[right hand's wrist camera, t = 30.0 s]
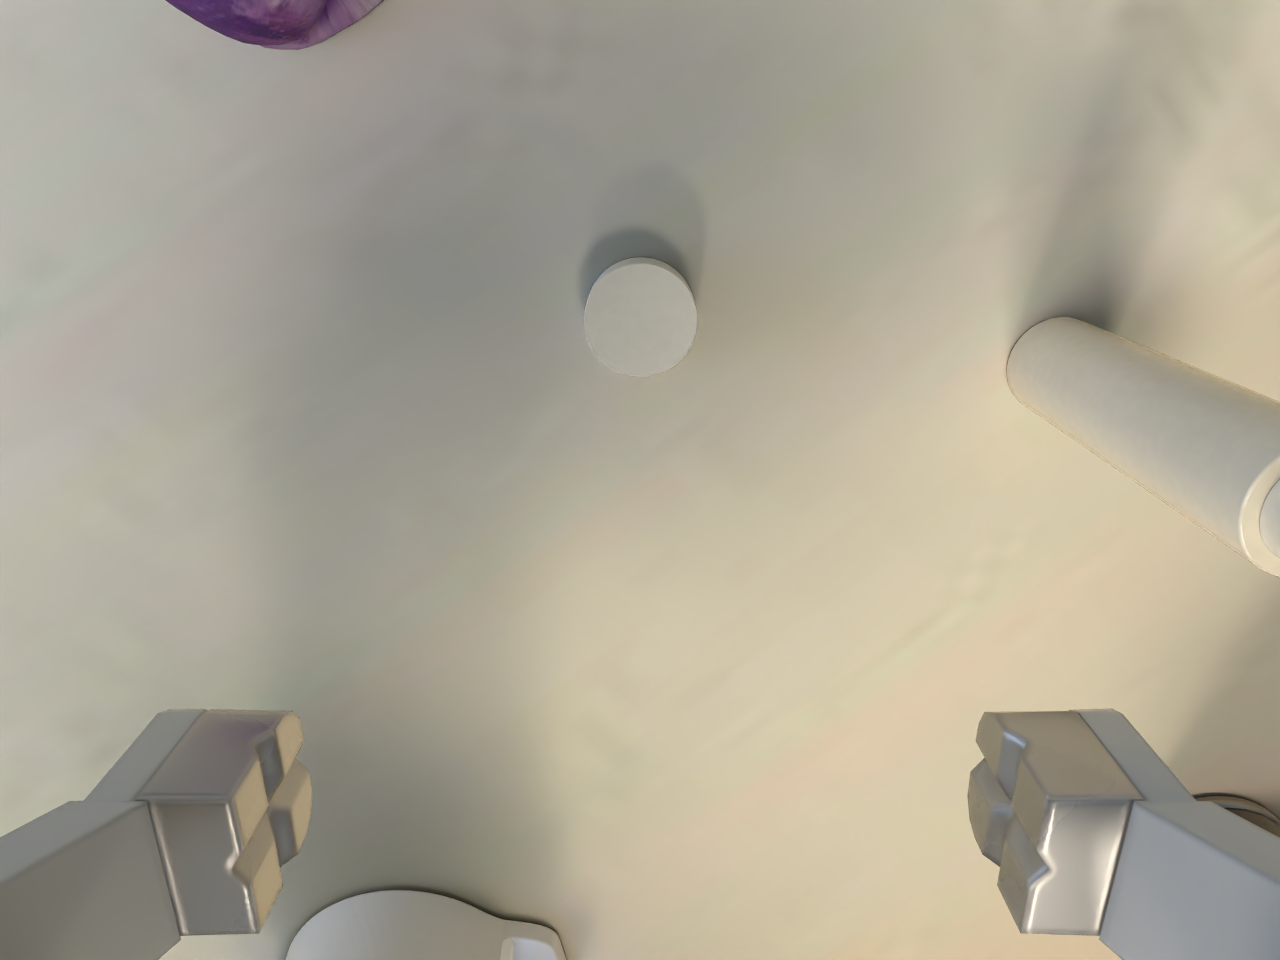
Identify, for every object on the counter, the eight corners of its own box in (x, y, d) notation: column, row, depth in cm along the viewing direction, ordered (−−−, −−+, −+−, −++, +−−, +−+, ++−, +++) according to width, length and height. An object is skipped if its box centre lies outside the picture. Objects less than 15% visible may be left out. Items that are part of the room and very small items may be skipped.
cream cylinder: (1013, 316, 38) (1309, 456, 21) (1112, 316, 38) (1484, 456, 21) (999, 411, 39) (1263, 611, 23) (1094, 411, 39) (1427, 612, 23)
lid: (707, 349, 38) (710, 359, 36) (604, 378, 39) (602, 390, 37) (678, 243, 37) (680, 248, 35) (572, 274, 37) (568, 282, 35)
